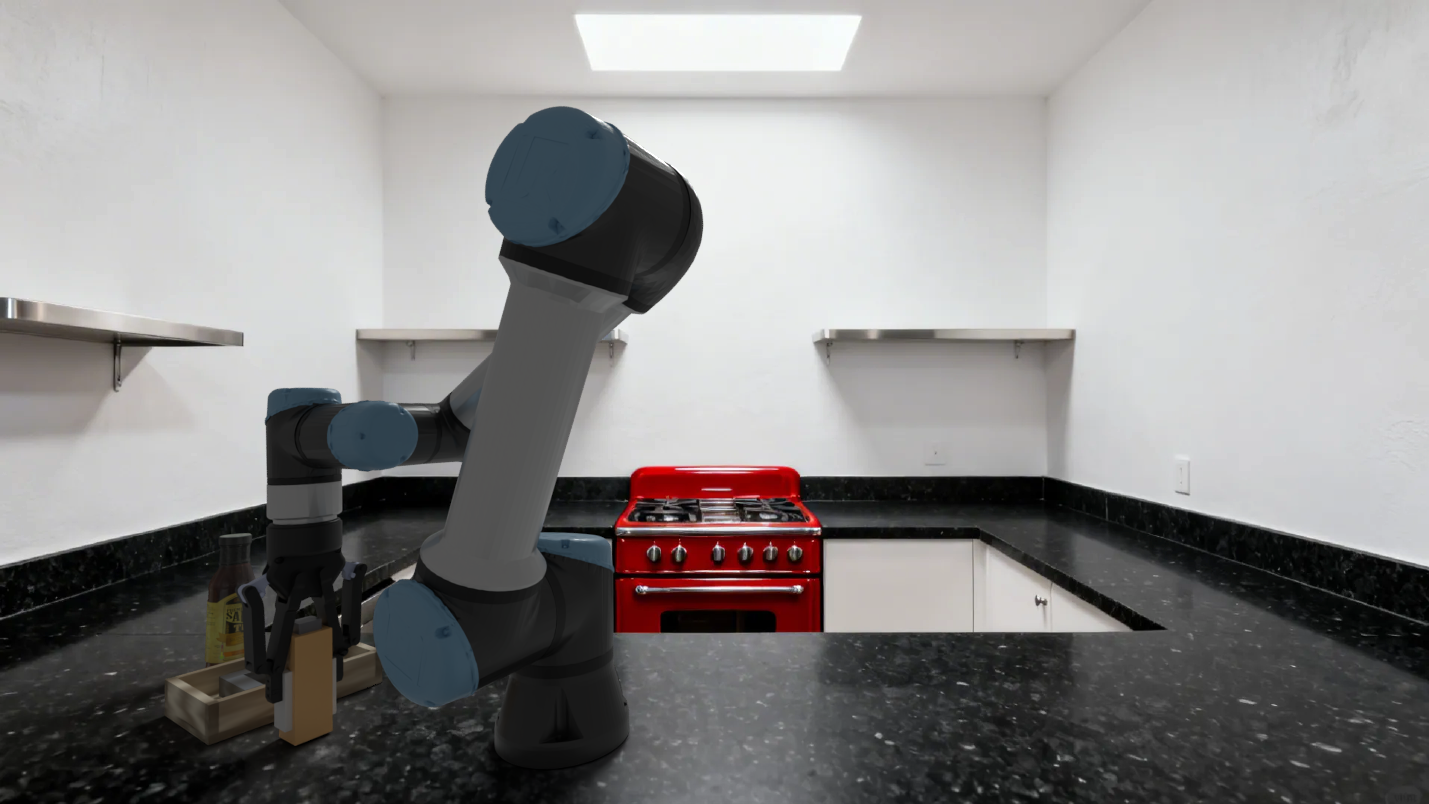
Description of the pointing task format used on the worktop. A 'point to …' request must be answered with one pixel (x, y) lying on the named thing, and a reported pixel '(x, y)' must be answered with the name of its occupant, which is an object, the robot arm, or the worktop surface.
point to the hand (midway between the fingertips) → (306, 719)
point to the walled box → (247, 695)
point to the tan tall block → (310, 680)
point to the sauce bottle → (227, 600)
